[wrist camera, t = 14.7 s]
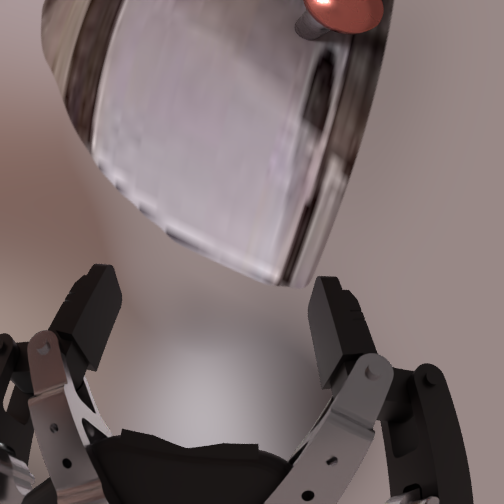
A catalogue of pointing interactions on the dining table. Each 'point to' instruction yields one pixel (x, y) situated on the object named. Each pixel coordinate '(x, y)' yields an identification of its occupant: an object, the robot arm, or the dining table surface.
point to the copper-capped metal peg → (338, 17)
